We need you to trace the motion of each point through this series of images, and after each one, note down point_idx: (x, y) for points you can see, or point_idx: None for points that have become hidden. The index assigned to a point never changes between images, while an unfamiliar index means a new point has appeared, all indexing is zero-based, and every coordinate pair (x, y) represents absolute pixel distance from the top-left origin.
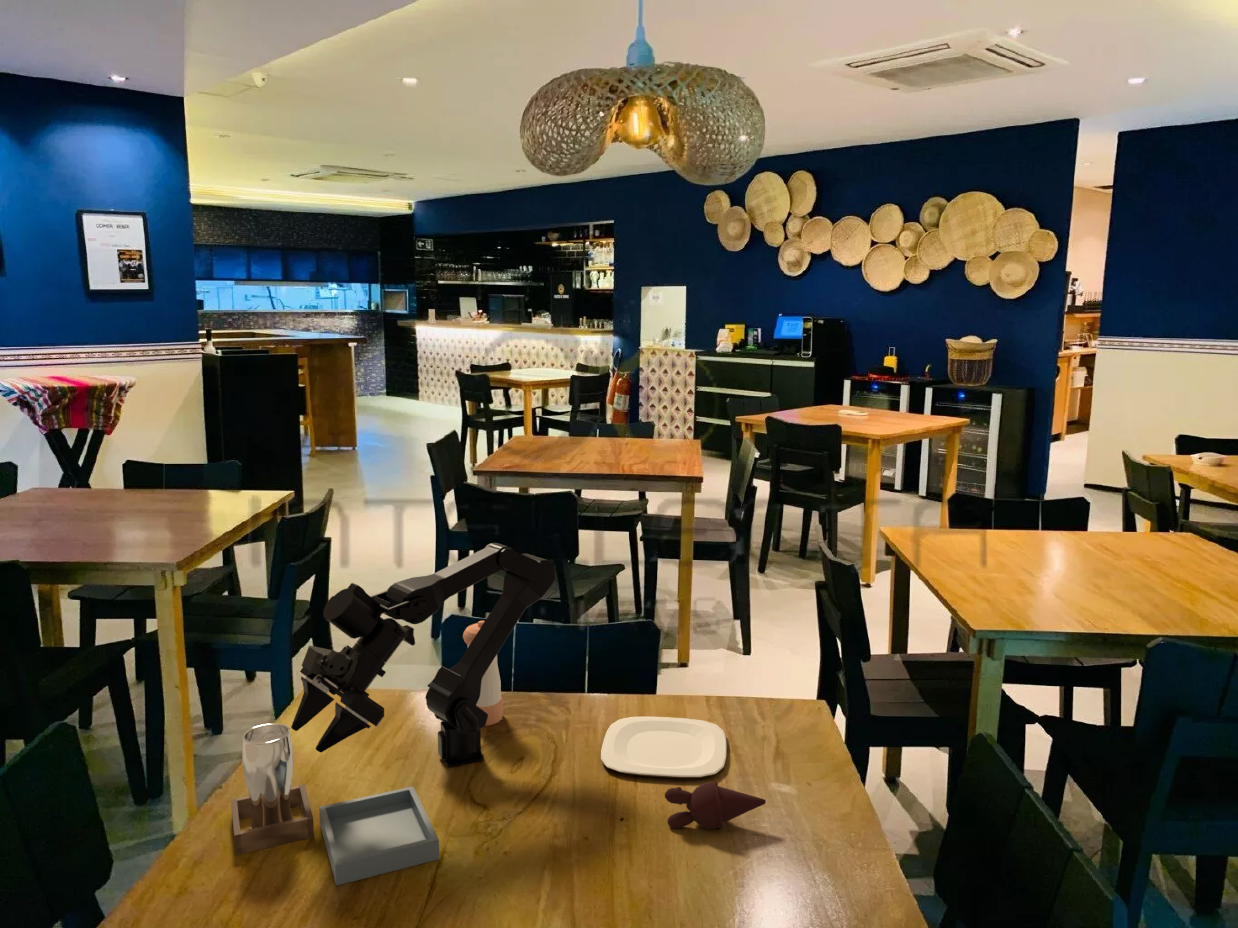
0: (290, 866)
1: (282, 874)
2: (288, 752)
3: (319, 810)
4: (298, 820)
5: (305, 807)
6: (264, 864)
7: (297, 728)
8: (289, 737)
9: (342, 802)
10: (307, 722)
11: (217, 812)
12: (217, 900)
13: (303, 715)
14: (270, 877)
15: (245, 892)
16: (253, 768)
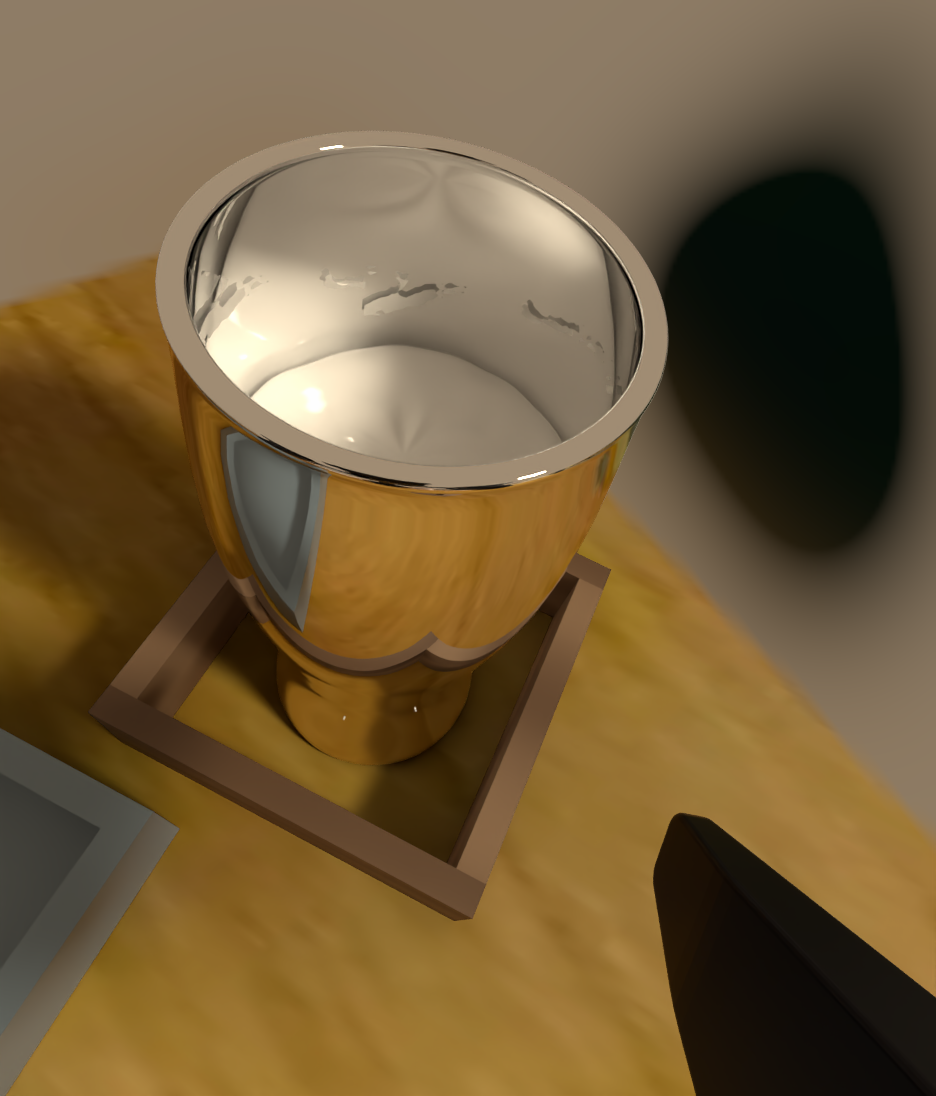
0: (42, 547)
1: (31, 501)
2: (195, 475)
3: (156, 814)
4: (148, 648)
5: (223, 750)
6: (161, 502)
7: (662, 886)
8: (211, 432)
9: (38, 955)
10: (689, 1061)
11: (664, 597)
12: (136, 328)
13: (758, 1013)
14: (64, 469)
15: (81, 385)
16: (333, 322)
